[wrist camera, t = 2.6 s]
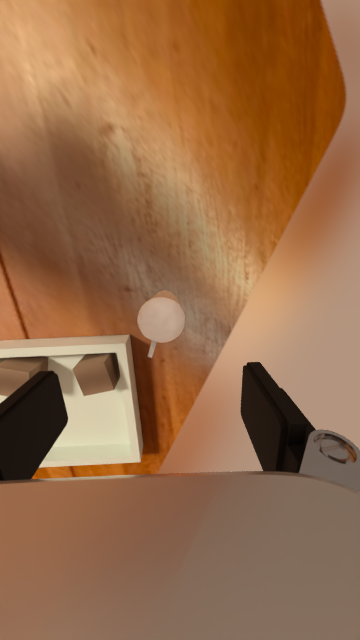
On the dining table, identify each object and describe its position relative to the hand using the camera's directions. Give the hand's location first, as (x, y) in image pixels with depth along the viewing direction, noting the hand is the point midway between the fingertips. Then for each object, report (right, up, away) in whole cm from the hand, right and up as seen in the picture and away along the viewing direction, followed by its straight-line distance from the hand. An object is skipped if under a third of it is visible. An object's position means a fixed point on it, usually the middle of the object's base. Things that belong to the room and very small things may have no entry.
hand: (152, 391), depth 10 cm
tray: (-14, -8, +21) cm, 27 cm away
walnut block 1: (-19, -3, +19) cm, 27 cm away
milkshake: (-1, +6, +17) cm, 18 cm away
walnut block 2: (-9, -3, +19) cm, 21 cm away
